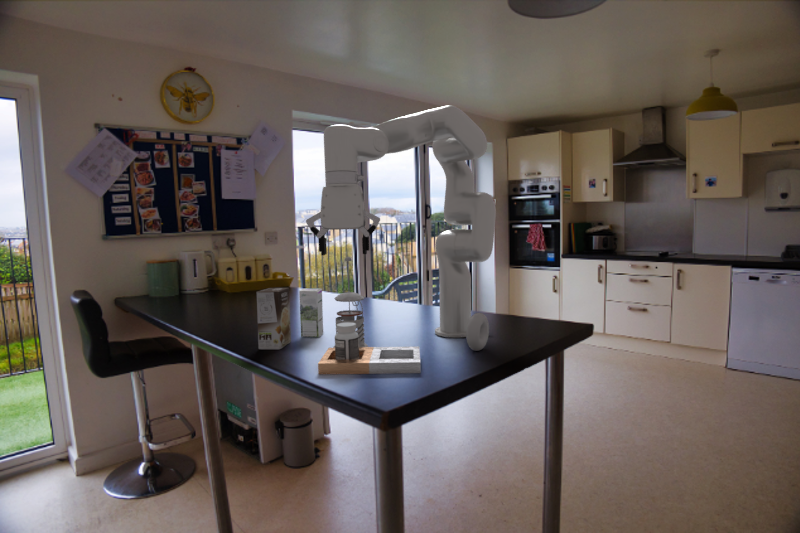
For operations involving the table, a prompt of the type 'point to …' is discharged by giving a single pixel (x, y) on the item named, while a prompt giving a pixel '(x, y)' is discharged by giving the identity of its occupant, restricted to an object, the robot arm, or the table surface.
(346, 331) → the pill bottle
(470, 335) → the donut
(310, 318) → the syrup box
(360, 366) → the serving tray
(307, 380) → the table surface
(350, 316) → the french press
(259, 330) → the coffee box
